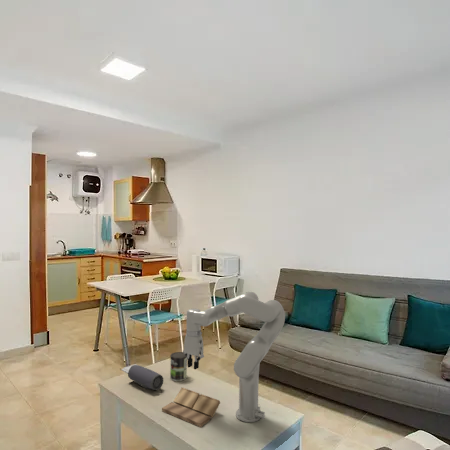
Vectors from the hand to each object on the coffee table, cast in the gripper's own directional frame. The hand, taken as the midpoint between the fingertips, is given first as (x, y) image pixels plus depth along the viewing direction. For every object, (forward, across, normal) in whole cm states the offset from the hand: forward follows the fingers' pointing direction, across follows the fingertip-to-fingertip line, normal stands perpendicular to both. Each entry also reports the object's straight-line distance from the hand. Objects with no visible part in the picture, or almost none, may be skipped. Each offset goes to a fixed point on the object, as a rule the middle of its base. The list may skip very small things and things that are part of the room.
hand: (193, 367), depth 185 cm
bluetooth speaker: (+20, +36, 0) cm, 41 cm away
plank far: (+16, +2, +2) cm, 17 cm away
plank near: (+16, -11, +2) cm, 20 cm away
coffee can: (+19, +28, -20) cm, 40 cm away
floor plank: (+19, -5, +11) cm, 22 cm away
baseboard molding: (+20, +50, -9) cm, 54 cm away
